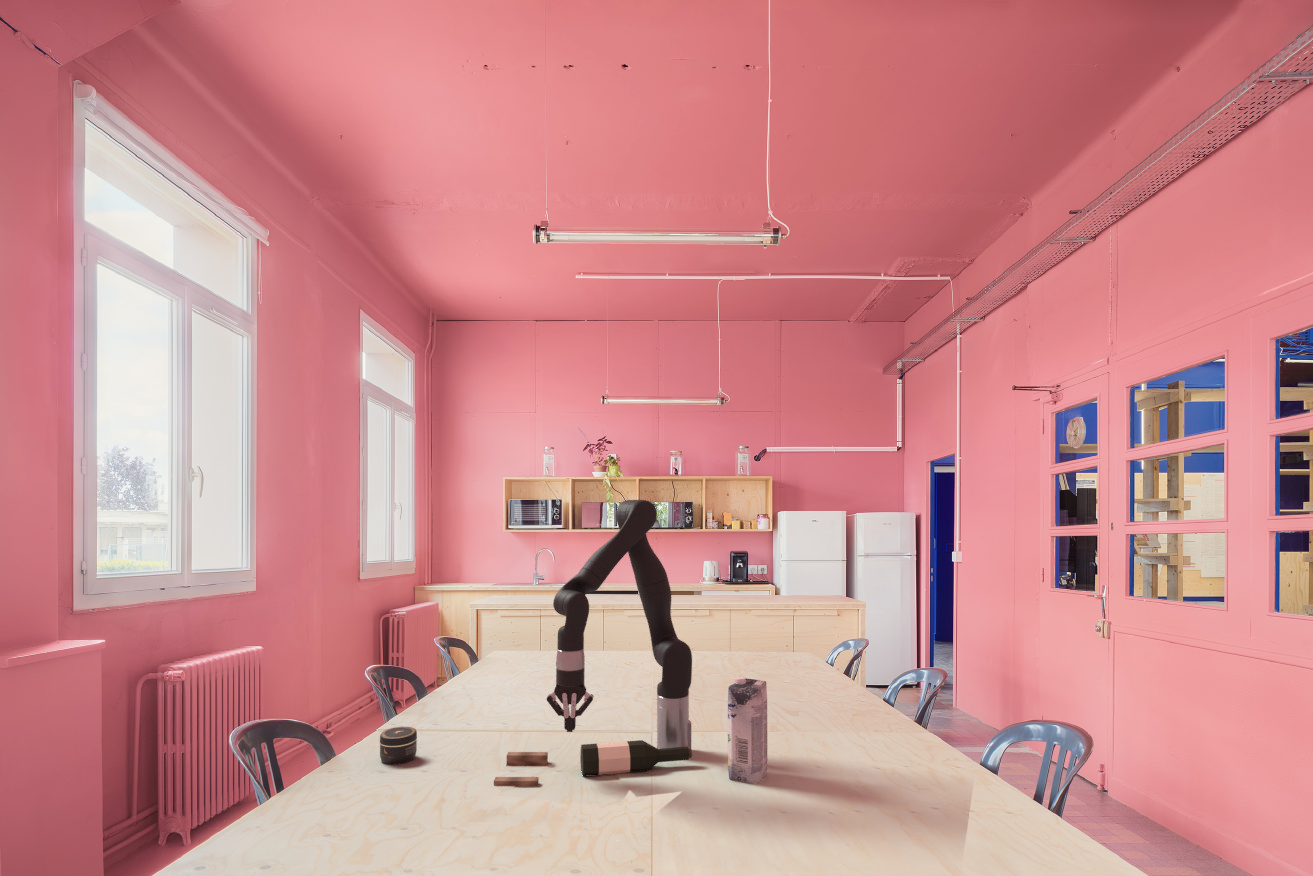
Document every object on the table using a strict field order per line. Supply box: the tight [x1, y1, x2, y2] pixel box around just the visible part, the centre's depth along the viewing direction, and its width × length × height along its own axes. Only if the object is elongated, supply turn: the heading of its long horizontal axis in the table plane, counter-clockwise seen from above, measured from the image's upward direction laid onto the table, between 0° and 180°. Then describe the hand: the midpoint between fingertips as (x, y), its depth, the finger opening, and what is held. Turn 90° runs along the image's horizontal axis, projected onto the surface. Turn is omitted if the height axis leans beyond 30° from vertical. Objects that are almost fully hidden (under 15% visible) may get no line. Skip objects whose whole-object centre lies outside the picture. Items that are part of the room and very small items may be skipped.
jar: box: [379, 726, 418, 765], centre depth 213 cm, size 10×10×8 cm
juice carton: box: [727, 675, 768, 785], centre depth 198 cm, size 9×10×27 cm
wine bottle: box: [579, 739, 693, 777], centre depth 205 cm, size 8×8×30 cm
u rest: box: [493, 751, 549, 787], centre depth 201 cm, size 11×19×3 cm, turn 0°
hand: (569, 731), depth 201 cm, fingers closed
